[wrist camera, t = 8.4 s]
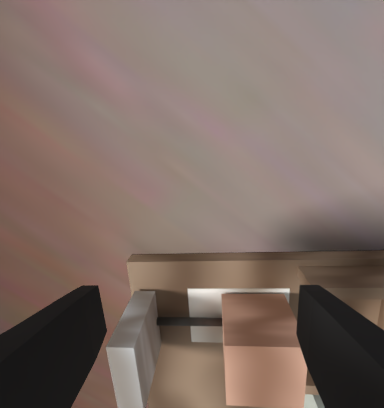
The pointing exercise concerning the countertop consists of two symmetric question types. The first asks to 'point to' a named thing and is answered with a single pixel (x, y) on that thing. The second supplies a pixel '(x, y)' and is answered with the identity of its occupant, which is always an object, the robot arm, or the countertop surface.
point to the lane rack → (238, 284)
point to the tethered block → (232, 346)
